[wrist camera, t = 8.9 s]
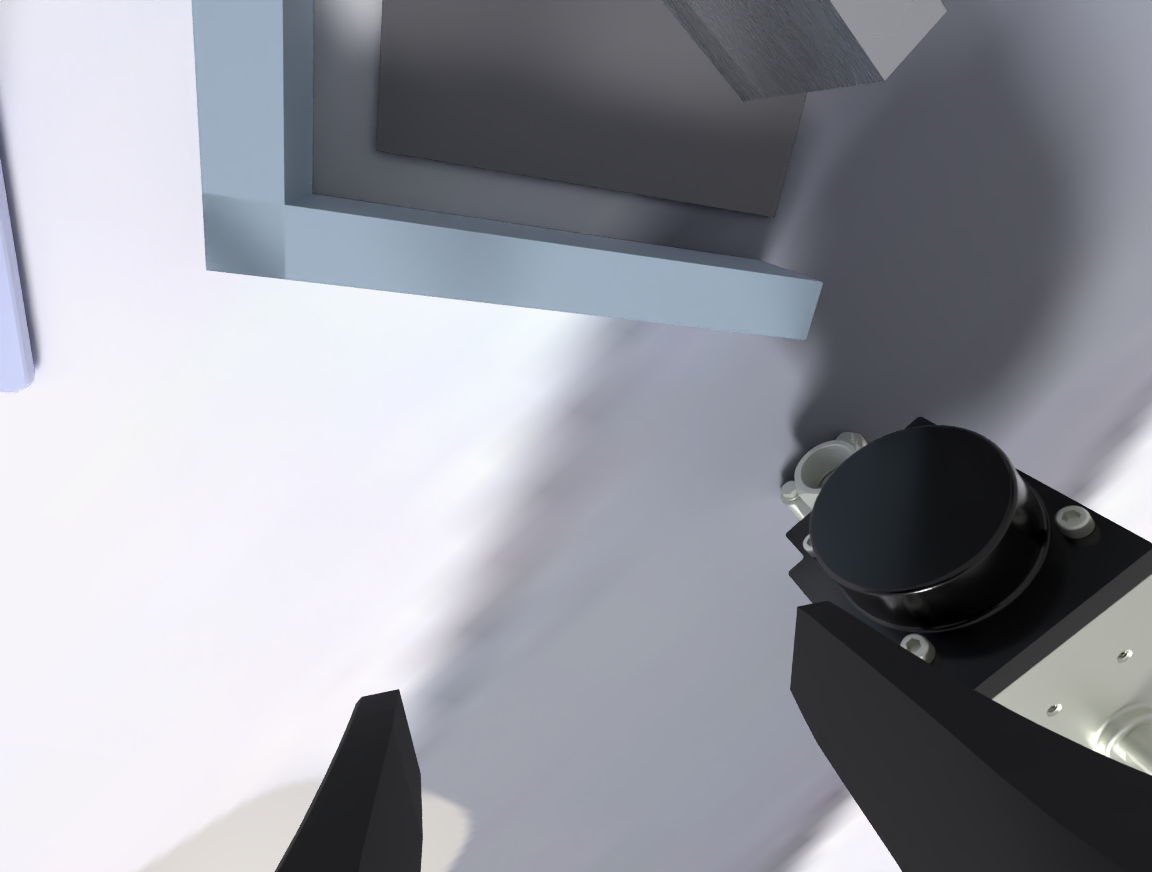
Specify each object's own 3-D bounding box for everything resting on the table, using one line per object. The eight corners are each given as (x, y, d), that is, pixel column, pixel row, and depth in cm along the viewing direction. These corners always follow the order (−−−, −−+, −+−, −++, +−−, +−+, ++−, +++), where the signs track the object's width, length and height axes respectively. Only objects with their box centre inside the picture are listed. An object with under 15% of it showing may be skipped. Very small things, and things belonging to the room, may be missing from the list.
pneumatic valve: (798, 332, 21) (1201, 534, 10) (956, 532, 26) (1339, 812, 15) (671, 452, 21) (915, 758, 11) (848, 623, 26) (1136, 950, 16)
